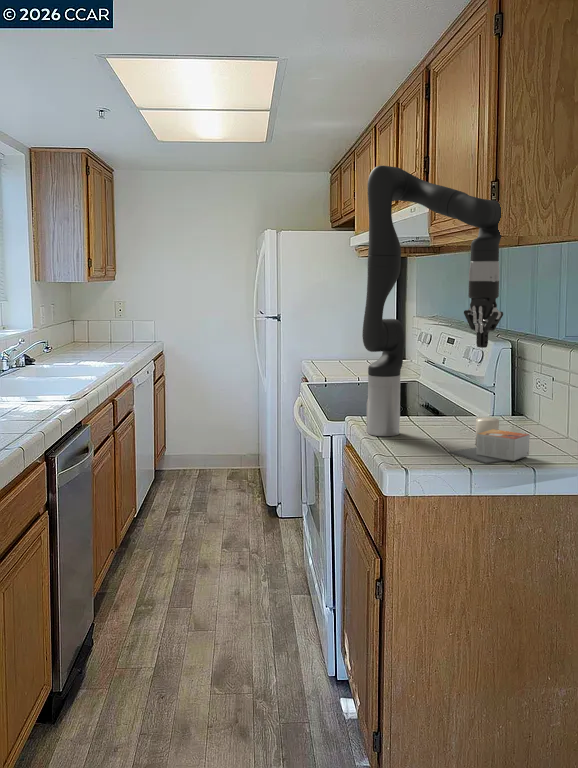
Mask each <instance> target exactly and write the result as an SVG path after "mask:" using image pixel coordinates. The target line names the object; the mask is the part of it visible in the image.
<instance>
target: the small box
mask: <svg viewBox="0 0 578 768" xmlns="http://www.w3.org/2000/svg"><path fill="white" fill-rule="evenodd" d="M476 448H477V455H482V456H487V457H493V458H499V459H505V460H510V461H512V462H515V461H517V460H521V459H520V458H523V457H524V458H525V457H528V456H529V454H530V434H528V433H523V432H515V431H508V430H501V429H499V430H495V429H492V430H489V431H485V432H482V433H478V434H477V445H476Z"/></svg>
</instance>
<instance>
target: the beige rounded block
mask: <svg viewBox="0 0 578 768" xmlns="http://www.w3.org/2000/svg"><path fill="white" fill-rule="evenodd" d="M492 429H495V430H500V419H499V418H496V417H477V418H476V419H475V444H474V445H475V446H477V434H478V433H482V432H485V431H489V430H492Z"/></svg>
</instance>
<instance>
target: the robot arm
mask: <svg viewBox="0 0 578 768" xmlns="http://www.w3.org/2000/svg"><path fill="white" fill-rule="evenodd" d="M396 201H397V202H409V203H415V204H417V205H421V206H423V207H425V208H427V209H429V210H430V211H433V212H434V213H436V214H439V215H442V216H445V217H448V218H451V219H455V220H458V221H460V222H462V223H464V224H466V225H469V226H471V227H475V228H478V233H477V234H478V235H477V237H476V238H474V239H472V241H471V243H470V257H469V258H470V262H469V269H468V295H467V296H468V298H469V299H471V300H470V304H469V308H467V309H465V310H463V315H464V317H465V319H466V321H467V323H468V325H469V327H470V330H473V331H475V334H476V339H475V340H476V347H477V348H482V349H483V348H487V347H488V344H489V334H490V332H494V331H495V330H496V327H498V325H499V323H500V321H501V319H502V318H503V316H504V312H503V311H500V310H498V304H497V299H498V298H499V297H500V296H499V295H500V294H499V293H500V290H499V289H500V262H499V260H500V259H499V257H500V242H501V239H502V237H503V234H502V235H500V232H499V230H498V223H499V221H500V218H501V207H500V204H501V203H500V202H499V201H498V200H494V199H487V198H486V199H485V198H481V197H476V196H472V195H469V194H468V193H466V192H463V191H460V190H459V189H458V190H457V189H454V188H451V187H448V186H444V185H439V184H436V183H432V182H429V181H426V180H423V179H421V178H419V177H417V176H415V175H414V174H412V173H409V172H408V171H406V170H405V169H403V168H400V167H397V166H390V165H389V166H388V165H377V166H375V167H374V168H373V169H372V170H371V172H370V174H369V175H368V179H367V204H368V205H367V207H368V250H367V279H366V280H367V282H366V283H367V285H366V297H365V299H366V301H365V308H364V316H363V322H362V323H363V324H362V343H363V346H364V348H365V349H366V350H367V351H368V352H371V353H377V352H380V353H381V352H382V354H381V356H380V357H379V358H378V359H377V360H376V361H374V362H372V363H371V364H369V365H368V369H367V373H368V374H367V382H368V383H367V400H366V432H367V434H368V435H370V436H376V437H394V436H398V435H400V430H401V428H400V427H401V424H400V422H401V370H402V367H403V363H404V350H405V349H404V347H405V331H404V326H403V324H402V322H401V321H400V320H398V319H397V318H383V317H384V316H383V315H384V307H385V304H386V301H387V298H388V296H389V294H390V293H391V291H392V290H393V288H394V286H395V285H396V283H397V281H398V279H399V277H400V274H401V262H402V261H401V260H402V249H401V248H402V247H401V244H400V240H399V237H398V233H397V231H396V229H395V226H394V223H393V217H392V215H393V214H392V213H393V212H392V211H393V210H392V207H393V202H396ZM498 202H499V203H500V204H499V203H498Z"/></svg>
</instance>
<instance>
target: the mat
mask: <svg viewBox="0 0 578 768" xmlns="http://www.w3.org/2000/svg"><path fill="white" fill-rule="evenodd" d="M449 453H450V454H452V455H456V456H459V457H463V458H466V459H469V460H472V461H475V462H479V463H481V462H482V463H481V464H485V465H487V464H495V463H502V462H510V461H511V460H505V459H499V458H493V457H487V456H482V455H477V447H472V448H465V449H456V450H449ZM524 458H525V457H523V458H520V459H519V460H524Z"/></svg>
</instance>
